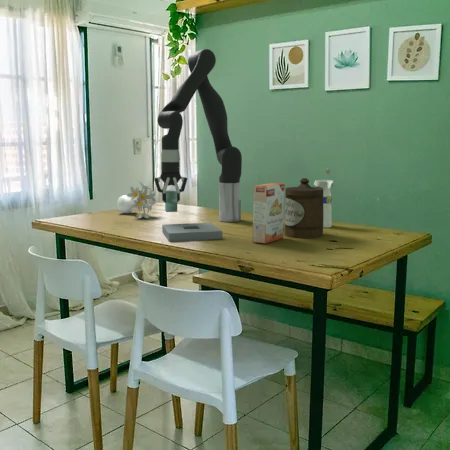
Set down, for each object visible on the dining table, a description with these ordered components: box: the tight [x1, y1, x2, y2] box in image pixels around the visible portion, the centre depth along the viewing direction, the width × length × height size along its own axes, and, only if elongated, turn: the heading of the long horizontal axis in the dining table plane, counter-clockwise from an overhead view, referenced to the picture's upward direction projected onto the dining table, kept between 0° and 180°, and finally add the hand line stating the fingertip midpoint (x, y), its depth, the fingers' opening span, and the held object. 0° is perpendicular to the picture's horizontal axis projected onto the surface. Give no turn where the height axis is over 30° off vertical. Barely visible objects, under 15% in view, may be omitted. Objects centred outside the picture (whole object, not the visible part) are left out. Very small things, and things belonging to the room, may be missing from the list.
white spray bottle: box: [313, 167, 334, 229], centre depth 233 cm, size 8×9×25 cm
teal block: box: [164, 189, 178, 213], centre depth 230 cm, size 4×4×8 cm
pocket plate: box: [161, 222, 223, 242], centre depth 215 cm, size 20×20×3 cm
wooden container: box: [284, 177, 324, 239], centre depth 215 cm, size 15×15×22 cm
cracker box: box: [252, 182, 286, 245], centre depth 204 cm, size 14×6×21 cm, turn 147°
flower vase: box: [116, 180, 157, 219], centre depth 266 cm, size 13×18×25 cm
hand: (171, 201), depth 230 cm, fingers closed on teal block, 4 cm apart
